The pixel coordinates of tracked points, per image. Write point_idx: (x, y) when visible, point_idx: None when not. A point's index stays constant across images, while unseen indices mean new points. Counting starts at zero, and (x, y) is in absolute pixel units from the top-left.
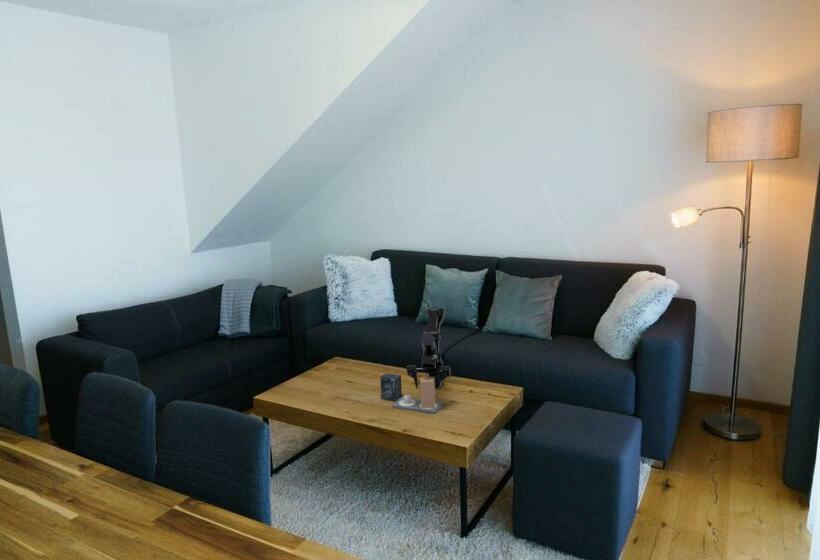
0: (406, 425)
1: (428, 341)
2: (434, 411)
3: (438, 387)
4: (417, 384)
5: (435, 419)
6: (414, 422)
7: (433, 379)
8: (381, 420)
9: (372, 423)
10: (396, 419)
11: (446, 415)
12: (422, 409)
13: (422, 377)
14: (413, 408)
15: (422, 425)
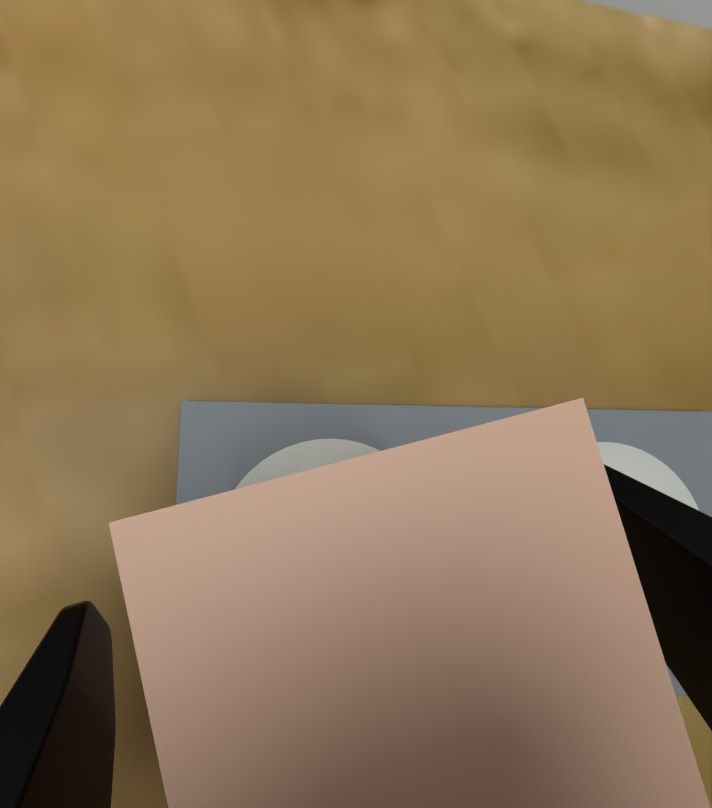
0: (383, 68)
1: None
2: (192, 405)
3: (59, 629)
4: (639, 564)
5: (136, 267)
6: (334, 146)
7: (174, 755)
8: (649, 117)
9: (689, 46)
10: (532, 169)
11: (35, 406)
12: (358, 415)
13: (678, 797)
14: (470, 410)
15: (227, 100)
